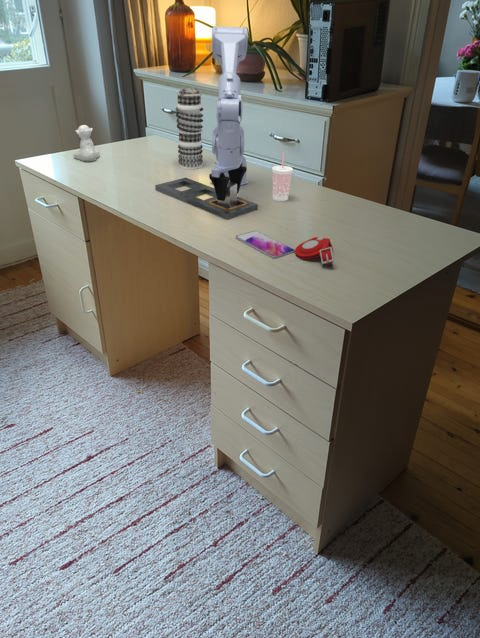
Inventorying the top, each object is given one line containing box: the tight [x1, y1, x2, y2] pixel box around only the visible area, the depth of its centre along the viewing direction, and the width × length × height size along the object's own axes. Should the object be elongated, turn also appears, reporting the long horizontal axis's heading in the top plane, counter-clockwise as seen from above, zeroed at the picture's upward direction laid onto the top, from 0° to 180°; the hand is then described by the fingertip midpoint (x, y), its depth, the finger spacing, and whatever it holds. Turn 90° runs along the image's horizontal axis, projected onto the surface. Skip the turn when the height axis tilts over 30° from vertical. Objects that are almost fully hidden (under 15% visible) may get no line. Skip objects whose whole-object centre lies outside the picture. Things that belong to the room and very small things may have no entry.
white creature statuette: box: [72, 124, 101, 163], centre depth 182 cm, size 10×9×12 cm
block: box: [217, 182, 238, 209], centre depth 146 cm, size 4×4×7 cm
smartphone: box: [234, 230, 295, 260], centre depth 127 cm, size 7×1×15 cm
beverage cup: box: [271, 150, 294, 202], centre depth 152 cm, size 6×6×14 cm
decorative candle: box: [175, 87, 204, 170], centre depth 175 cm, size 9×9×25 cm
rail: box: [154, 177, 259, 220], centre depth 153 cm, size 12×32×2 cm, turn 45°
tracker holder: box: [294, 236, 335, 266], centre depth 122 cm, size 12×4×10 cm
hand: (228, 196), depth 145 cm, fingers open, 7 cm apart
